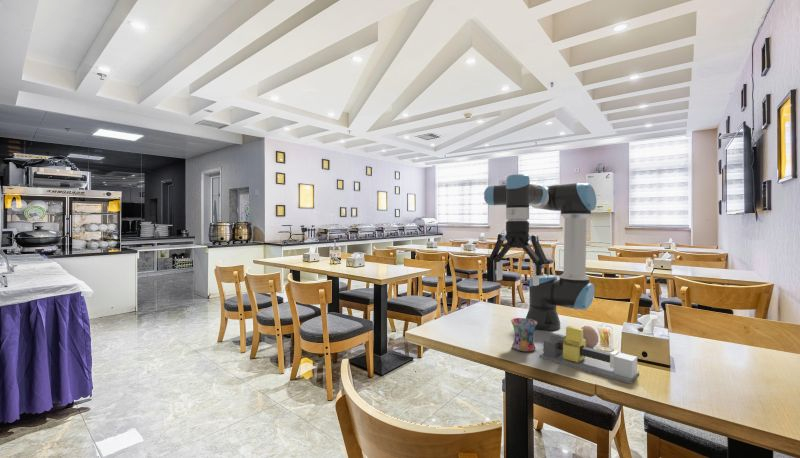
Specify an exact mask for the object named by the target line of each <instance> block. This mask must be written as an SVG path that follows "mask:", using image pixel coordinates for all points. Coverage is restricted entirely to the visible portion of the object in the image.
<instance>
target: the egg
mask: <svg viewBox="0 0 800 458" xmlns="http://www.w3.org/2000/svg"><path fill="white" fill-rule="evenodd" d="M580 329H583V339H586V347H588V348H592V349H594V348H595V347H596V346H597V345H598V343H599V335H598V332H597V331H596V329H594V328H593V327H592V326H590V325H584V326H582V327H580Z"/></svg>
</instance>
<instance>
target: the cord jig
mask: <svg viewBox="0 0 800 458" xmlns="http://www.w3.org/2000/svg"><path fill="white" fill-rule="evenodd" d="M564 339H566V337H561V336H556V335H552V336H550V337H548V338H545V340H543V352H542V353H541V354H539V355H538V356H539V358H541V359H543V360H547V361H551V362H554V363H557V364H560V365H565V366H567V367H571V368H574V369H578V370H581V371H585V372H588V373H591V374H595V375H598V376H602V377H606V378H608V379H613V380H616V381H620V382H622V383H626V384H631V383H632V382H633V381H634V380H635V379H636V378H637V377H638V376H639V375H640V371H638V356H636V355H631V354H627V353H624V352H621V351H619V350H617V349H616V350H615V349H614V350H613V351H611V352H607V351H604V350H599V349H596V348H588V347H584V346H581V347H580V355H582V356H585V358H584V359H583V360H581V361H580V362H574V361H571V360H567V359H563V340H564Z"/></svg>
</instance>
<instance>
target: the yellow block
mask: <svg viewBox="0 0 800 458" xmlns="http://www.w3.org/2000/svg"><path fill="white" fill-rule="evenodd" d="M581 346H584V347H586V339H583V329H581V327H575V326H570V325H568V326H566V327H565V339H564V340H563V359H567V360H571V361H574V362H580V361H581V360H583V359H584V358H585V357H586V356H582V355H580V347H581Z"/></svg>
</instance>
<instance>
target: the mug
mask: <svg viewBox="0 0 800 458" xmlns="http://www.w3.org/2000/svg"><path fill="white" fill-rule="evenodd" d="M510 321H511V323H512V327H513V331H514V338H513V342H512V344H511V346H512V348H513V349H515V350H517V351H519V352H533V351H535V350H536V349H537V347H536V344H535V343H534V334H535V330H536V329H535V327H536V325H537V322H536V321H535V320H532V319H527V318H526V317H515V318H511V320H510Z"/></svg>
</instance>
